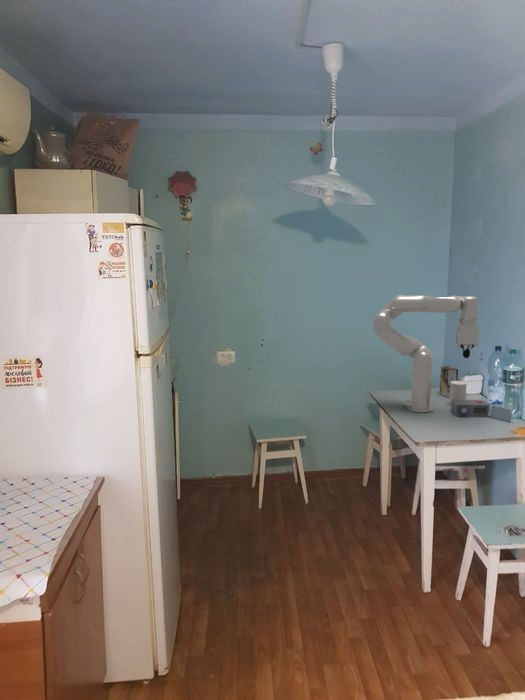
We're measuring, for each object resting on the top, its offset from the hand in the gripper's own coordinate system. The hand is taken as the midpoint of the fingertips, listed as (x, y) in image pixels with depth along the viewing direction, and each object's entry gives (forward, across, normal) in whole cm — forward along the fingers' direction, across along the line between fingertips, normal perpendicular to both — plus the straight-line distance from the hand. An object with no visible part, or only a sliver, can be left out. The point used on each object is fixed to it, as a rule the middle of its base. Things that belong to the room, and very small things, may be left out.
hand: (466, 357), depth 264 cm
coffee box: (+29, +2, +34) cm, 45 cm away
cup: (+29, +2, +16) cm, 33 cm away
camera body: (+29, +3, -1) cm, 29 cm away
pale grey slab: (+29, +15, -10) cm, 34 cm away
